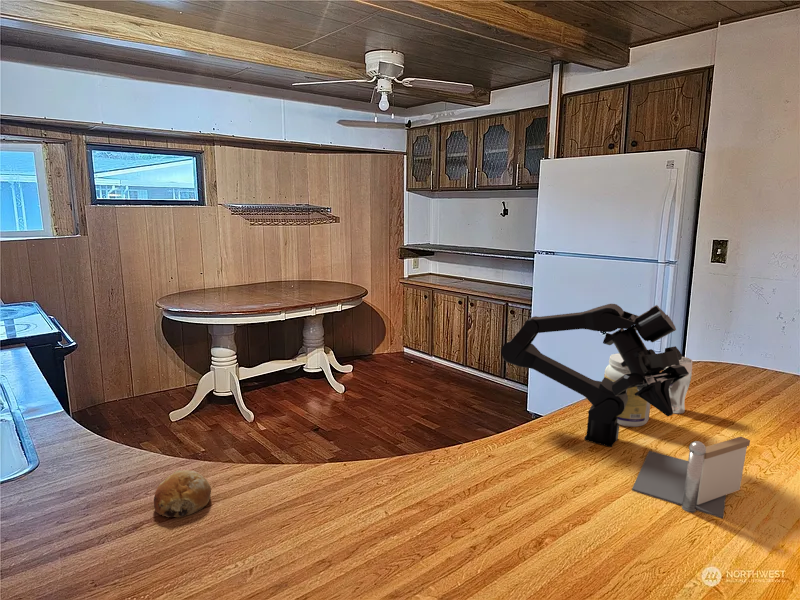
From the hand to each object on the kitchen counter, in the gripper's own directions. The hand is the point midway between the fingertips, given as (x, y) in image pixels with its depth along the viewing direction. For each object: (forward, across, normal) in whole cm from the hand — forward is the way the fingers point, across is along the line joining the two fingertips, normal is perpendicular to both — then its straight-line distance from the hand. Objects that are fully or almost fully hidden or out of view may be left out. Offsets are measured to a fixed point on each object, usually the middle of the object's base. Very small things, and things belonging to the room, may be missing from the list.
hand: (670, 415), depth 113 cm
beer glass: (-6, +32, +24) cm, 40 cm away
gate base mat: (+13, -1, +5) cm, 14 cm away
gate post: (+18, -9, 0) cm, 20 cm away
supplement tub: (-7, +14, +25) cm, 30 cm away
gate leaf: (+17, -1, -1) cm, 17 cm away
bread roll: (-11, -97, +29) cm, 102 cm away
